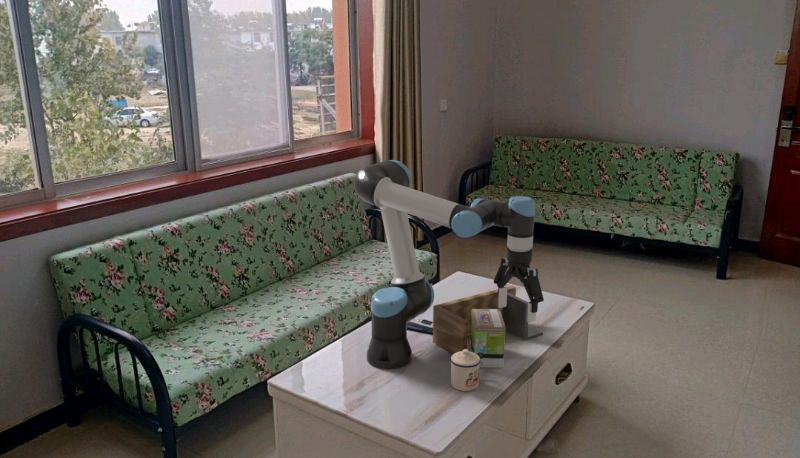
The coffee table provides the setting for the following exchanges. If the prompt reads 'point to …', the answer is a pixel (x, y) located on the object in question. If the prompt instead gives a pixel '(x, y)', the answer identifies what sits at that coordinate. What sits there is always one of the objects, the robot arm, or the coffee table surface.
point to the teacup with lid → (465, 370)
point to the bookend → (518, 318)
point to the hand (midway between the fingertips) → (516, 314)
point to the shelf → (460, 319)
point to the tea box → (488, 337)
